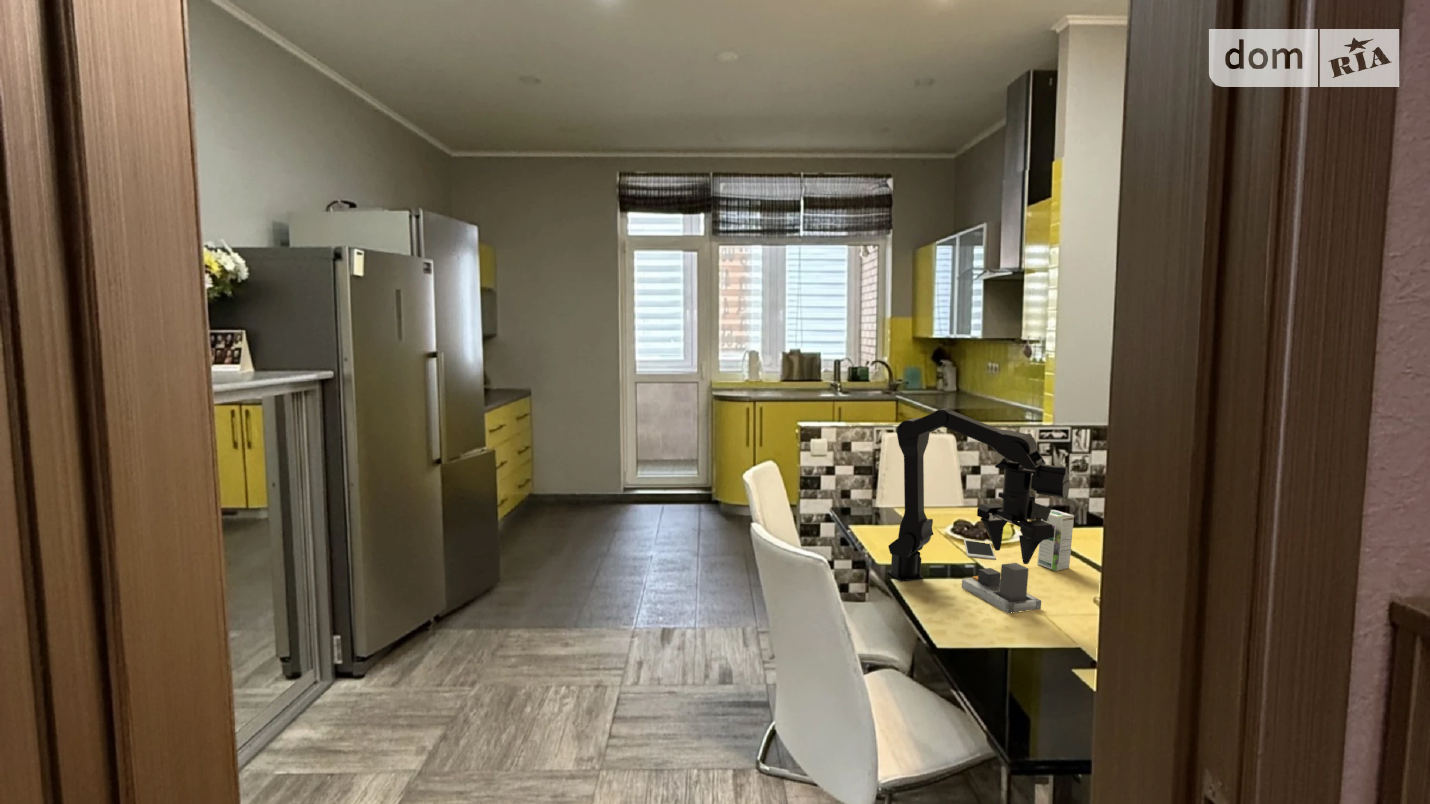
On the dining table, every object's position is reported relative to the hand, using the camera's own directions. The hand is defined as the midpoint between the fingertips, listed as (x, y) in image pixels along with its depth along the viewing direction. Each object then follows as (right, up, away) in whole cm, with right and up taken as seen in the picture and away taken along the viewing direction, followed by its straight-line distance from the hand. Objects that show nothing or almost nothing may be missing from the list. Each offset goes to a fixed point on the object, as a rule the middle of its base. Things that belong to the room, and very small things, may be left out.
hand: (1011, 556), depth 167 cm
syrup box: (+22, -8, +26) cm, 35 cm away
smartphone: (+7, -7, +39) cm, 40 cm away
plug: (0, -11, 0) cm, 11 cm away
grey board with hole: (-1, -10, +4) cm, 11 cm away
